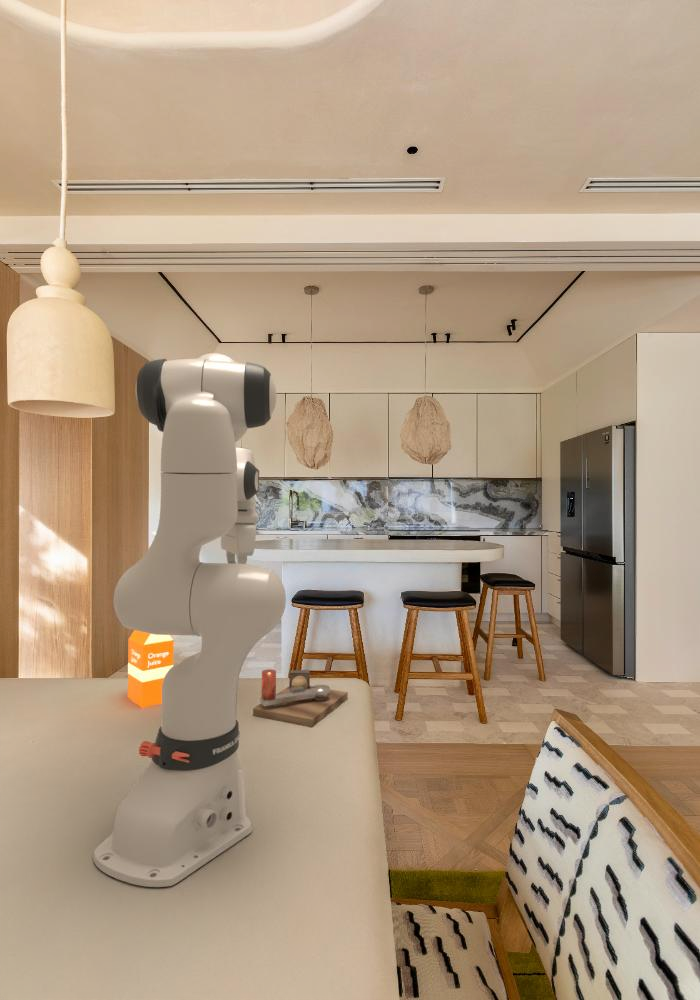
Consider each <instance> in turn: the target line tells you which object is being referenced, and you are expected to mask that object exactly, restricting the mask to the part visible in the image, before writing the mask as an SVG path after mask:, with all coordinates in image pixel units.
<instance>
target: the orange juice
mask: <svg viewBox="0 0 700 1000" xmlns="http://www.w3.org/2000/svg"><path fill="white" fill-rule="evenodd" d="M174 641H175V640H174V639H173V638H172V635H154V634H149V633H145V632H140V631H136V630H133V632H132V633H131V635H130V637H128V649H127V650H128V654H127V655H128V656H127V657H128V658H127V660H128V661H127V662H128V663H127V698H128V697H129V698H130V699H131V700H132V701H131V700H130V699H129V698H128V699H129V700H130V701H131V702H133V701H134V702H135V703H134V702H133V703H134V704H136V705H137V704H138V705H139V707H140V708H141V709H144V708H148V707H151V706H156V705H160V704H161V705H162V683H163V680H164V677H165V675H166V674H167V672H168V671H169V670H170V669H171V668H172V667H173V666H174V645H175V644H174ZM138 705H137V706H138Z"/></svg>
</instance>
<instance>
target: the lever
mask: <svg viewBox="0 0 700 1000" xmlns="http://www.w3.org/2000/svg"><path fill="white" fill-rule="evenodd" d="M311 686H312V685H311ZM330 689H331V688H330V686H329V685H326V684H316V685H313V686H312V687H311V689H309V690H305V688H304V687H302V686H298V687H292V688H290V693H285V694H278V695H276V694H277V671H276V670H275V669H270V668H269V669H265V670H261V697H260V698H259V699H260V700H259V701H260V702H259V704H262V705H263V706H268V705H274V704H280V703H286V702H292V701H297V700H303V699H309V698H315V697H316V698H325V697H328V696H329V695H330Z"/></svg>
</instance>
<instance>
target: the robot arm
mask: <svg viewBox="0 0 700 1000" xmlns="http://www.w3.org/2000/svg"><path fill="white" fill-rule="evenodd" d="M134 390H135V398H136V403H137V406H138V408H139V409H138V410H139V412H140V414H141V415H142V416H143V417H144V419H145V420H146V421H147V422H148V423H150V424H151V425H154V426H155V427H157V430H158V431H159V432H161V433H162V439H161V448H160V450H161V452H160V509H159V518H158V519H159V520H158V526H157V530H156V533H155V535H154V538H153V541H152V543H151V544H150V546H149V547H148V549H147V550H146V552H145V554H143V556H142V557H141V558H140V559H139V560H138V561H137V562H135V563H134V564H133V565H132V566H131V567H129V568H127V570H125V572H124V573H123V574H122V575H121V577H120V578H119V579H118V581H117V583H116V585H115V588H114V593H113V601H112V602H113V608H114V612H115V615H116V618H117V619H118V621H119V622H120V623H121V625H122V626H123V627H124V628H125V629H129V630H133V631H134V630H136V631H140V632H145V633H149V634H154V635H170V636H192V637H193V636H196V637H200V638H201V646H200V647H201V648H200V651H199V652H197V653H195V654H192V655H191V656H188V657H186V658H184V659H182V660H180V661H179V662H177V663H176V664H173V667H172V668H171V669H170V670H169V671H168V672H167V674H166V675H165V677H164V680H163V683H162V703H161V715H160V721H161V724H160V727H159V729H158V731H157V735H156V736H155V737H156V738H155V741H154V742H151V741H148V740H143V741H142V742H141V743H140V745H139V747H138V755H140V756H141V757H148V758H149V759H151V761H150V762H149V763H148V765H147V766H146V767H145V769H144V770H143V772H142V774H141V775H140V776H139V778H138V779H137V781H136V782H135V783H134V785H132V788H131V789H130V791H129V792H128V793H127V795H126V796H125V797H124V799H123V800H122V802H121V803H120V804H119V806H118V807H117V810H116V813H115V816H114V821H113V828H112V829H113V830H112V833H111V834H110V835H108V836H107V837H106V838H105V839H104V840H103V841H102V842H101V843H100V844H99V845H98V846H96V848H95V849H94V850H93V855H92V859H93V863H94V864H95V866H96V867H97V868H98V869H99V870H100V871H101V872H103V873H104V874H106V875H107V876H110V877H112V878H115V879H116V880H119V881H122V882H125V883H128V884H131V885H136V886H139V887H141V886H142V887H148V888H149V887H150V888H162V887H163V888H164V887H172V886H174V885H175V884H177V883H179V882H180V881H182V880H183V879H185V878H186V877H187V876H189V875H191V874H192V873H194V872H195V871H196V870H199V868H201V867H203V866H205V864H207V863H209V862H210V861H212V860H213V859H214V858H216V857H218V856H219V855H221V854H222V853H224V852H225V851H227V849H230V848H231V847H232V846H234V845H235V844H236V843H239V842H240V841H241V840H242V839H244V838H245V837H247V836H248V835H250V834H251V833H252V831H253V828H252V822H251V820H250V818H249V816H248V815H247V806H246V797H245V796H246V795H245V794H246V793H245V784H244V783H245V782H244V773H243V769H242V768H241V767H242V766H241V764H240V761H239V758H238V752H237V751H238V749H239V746H240V736H241V735H240V729H239V728H240V727H239V721H238V719H237V700H238V689H239V679H240V674H241V670H242V668H243V664H244V663H245V660H246V659H247V658H248V655H249V653H250V652H251V650H252V649H253V648H254V647H255V645H256V644H258V642H259V641H260V640H261V639H262V638H264V637H265V636H266V635H267V634H269V633H270V632H271V631H272V632H273V630H274V629H275V628H276V627H277V626H278V624H279V623H280V621H281V619H282V617H283V616H284V613H285V610H286V603H287V596H286V595H287V594H286V590H285V589H286V588H285V586H284V583H283V582H282V579H281V578H280V576H279V575H278V574H277V572H276V571H274V570H273V569H269V568H268V567H267V568H266V567H261V566H257V565H253V564H252V565H251V564H247V561H248V557H251V556H253V554H254V553H255V548H256V547H255V546H256V536H257V535H256V533H257V526H256V524H258V523H259V513H257V510H256V499H255V495H257V494H258V493H259V492H260V483H259V482H260V470H259V468H257V466H256V464H255V463H256V462H255V457H254V452H253V451H252V450H251V449H249V448H245V447H240V446H237V445H236V443H237V442H238V441H240V439H242V437H243V436H244V435H245V434H246V433H247V431H248V429H253V428H254V429H255V428H259V427H262V426H265V425H266V424H268V423H269V421H270V420H271V419H272V415H273V413H274V411H275V408H276V405H277V404H276V403H277V388H276V385H275V382H274V380H273V378H272V374H271V372H270V371H269V370H268V369H267V368H266V367H265V366H263V365H260V364H257V363H253V362H248V361H247V362H245V363H241V362H236V361H235V360H234V359H232V358H231V357H230V356H228V355H226V354H222V353H217V352H211V353H205V354H203V355H201V356H199V357H197V358H183V359H182V358H180V359H179V358H178V359H172V360H167V359H166V358H159V359H155V360H151V361H147V362H145V363H144V365H142V367H141V368H140V369H139V370H138V372H137V377H136V381H135V389H134ZM218 538H220V547H221V550H223V551H225V555H226V562H227V563H226V562H225V563H222V562H221V563H219V562H217V563H216V562H213V563H212V562H203V561H201V560H200V554H201V549H202V547H203V545H205V544H208V543H211V542H213V541H215V540H217V539H218Z"/></svg>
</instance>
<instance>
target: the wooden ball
mask: <svg viewBox="0 0 700 1000" xmlns="http://www.w3.org/2000/svg"><path fill="white" fill-rule="evenodd" d="M291 686H292V687H298V686H302V687H304V688H305V690H306V688H307V686H308V682H307V680H306V678H305V677H303V676H296V677H295V678H294V679H293V680H292V683H291Z"/></svg>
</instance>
